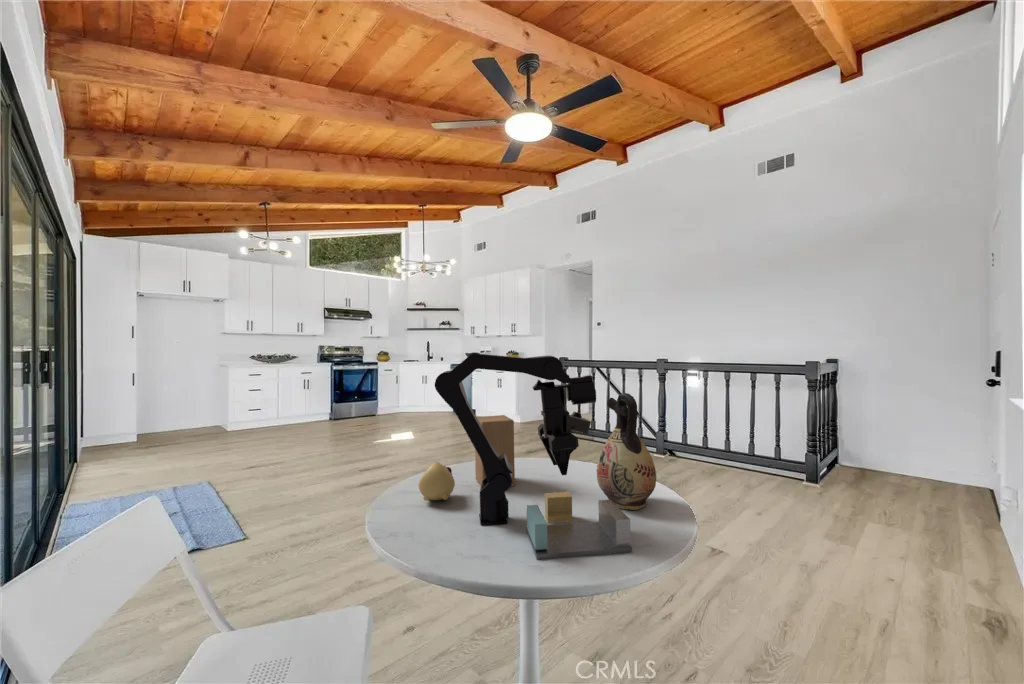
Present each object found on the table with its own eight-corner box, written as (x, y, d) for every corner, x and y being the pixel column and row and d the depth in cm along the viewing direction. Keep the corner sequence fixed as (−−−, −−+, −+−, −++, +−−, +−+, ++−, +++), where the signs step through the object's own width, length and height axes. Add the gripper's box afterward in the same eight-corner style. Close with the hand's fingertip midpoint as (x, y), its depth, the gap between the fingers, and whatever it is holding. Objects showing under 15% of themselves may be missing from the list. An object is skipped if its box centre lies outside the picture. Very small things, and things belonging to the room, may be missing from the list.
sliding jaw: (535, 549, 96) (535, 524, 96) (527, 528, 107) (526, 505, 107) (547, 549, 96) (547, 523, 96) (537, 527, 107) (537, 504, 107)
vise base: (536, 559, 94) (536, 527, 94) (526, 531, 108) (525, 503, 108) (632, 552, 97) (631, 521, 97) (609, 525, 111) (609, 498, 111)
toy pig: (457, 492, 137) (456, 455, 136) (453, 507, 125) (452, 467, 124) (423, 492, 136) (422, 456, 136) (415, 507, 124) (415, 467, 124)
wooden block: (475, 480, 148) (474, 416, 148) (505, 476, 151) (504, 414, 151) (482, 489, 138) (481, 422, 138) (515, 486, 141) (514, 419, 141)
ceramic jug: (588, 497, 130) (586, 389, 130) (638, 492, 134) (637, 387, 133) (614, 520, 114) (613, 397, 113) (672, 514, 117) (670, 394, 117)
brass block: (572, 521, 114) (571, 496, 114) (547, 522, 113) (547, 497, 113) (568, 515, 117) (568, 491, 117) (545, 517, 117) (544, 493, 117)
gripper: (597, 408, 107) (603, 476, 107) (575, 398, 125) (581, 456, 126) (549, 413, 106) (555, 482, 106) (534, 403, 124) (540, 461, 124)
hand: (559, 469), depth 115 cm, fingers open, 9 cm apart
